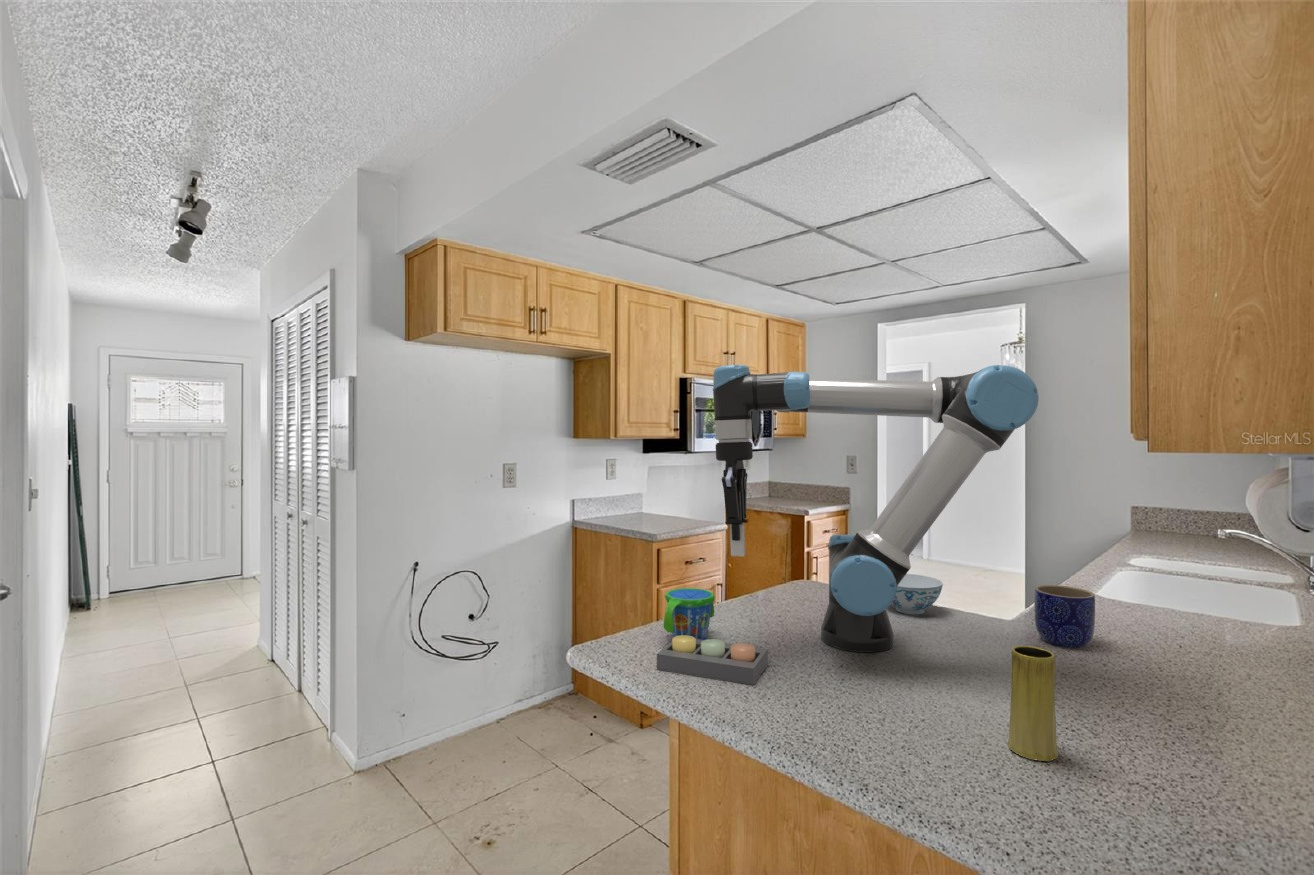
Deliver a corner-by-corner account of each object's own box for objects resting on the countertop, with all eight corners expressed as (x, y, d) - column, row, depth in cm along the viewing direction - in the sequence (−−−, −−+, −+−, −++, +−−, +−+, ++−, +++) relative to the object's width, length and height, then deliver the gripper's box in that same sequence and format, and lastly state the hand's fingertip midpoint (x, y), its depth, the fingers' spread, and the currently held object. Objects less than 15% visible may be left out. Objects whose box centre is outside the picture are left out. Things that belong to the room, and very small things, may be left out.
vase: (1066, 754, 88) (1066, 653, 88) (1044, 767, 85) (1044, 662, 85) (1021, 736, 93) (1021, 641, 93) (999, 748, 90) (999, 649, 90)
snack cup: (696, 626, 147) (696, 583, 146) (731, 637, 139) (731, 591, 139) (647, 642, 136) (647, 595, 136) (682, 654, 128) (682, 605, 128)
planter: (1101, 654, 127) (1101, 599, 127) (1039, 647, 131) (1039, 594, 131) (1087, 638, 138) (1087, 587, 137) (1030, 632, 142) (1030, 582, 141)
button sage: (727, 661, 123) (727, 641, 123) (720, 669, 118) (720, 648, 118) (705, 657, 125) (705, 637, 124) (697, 666, 120) (697, 645, 120)
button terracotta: (757, 665, 120) (757, 645, 120) (751, 674, 116) (751, 652, 116) (734, 662, 122) (734, 641, 122) (727, 670, 118) (727, 649, 118)
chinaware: (872, 601, 167) (872, 572, 167) (931, 603, 165) (931, 574, 165) (887, 618, 152) (887, 586, 152) (951, 620, 151) (951, 588, 150)
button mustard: (698, 656, 125) (698, 637, 125) (690, 664, 121) (690, 644, 121) (677, 653, 127) (677, 634, 127) (668, 661, 123) (668, 641, 123)
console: (768, 664, 123) (768, 648, 123) (753, 685, 113) (753, 668, 113) (677, 650, 130) (677, 636, 130) (656, 669, 120) (656, 653, 120)
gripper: (723, 441, 136) (728, 549, 136) (707, 442, 124) (712, 561, 124) (758, 439, 134) (762, 550, 134) (744, 441, 121) (749, 562, 122)
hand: (738, 555), depth 129 cm, fingers closed
